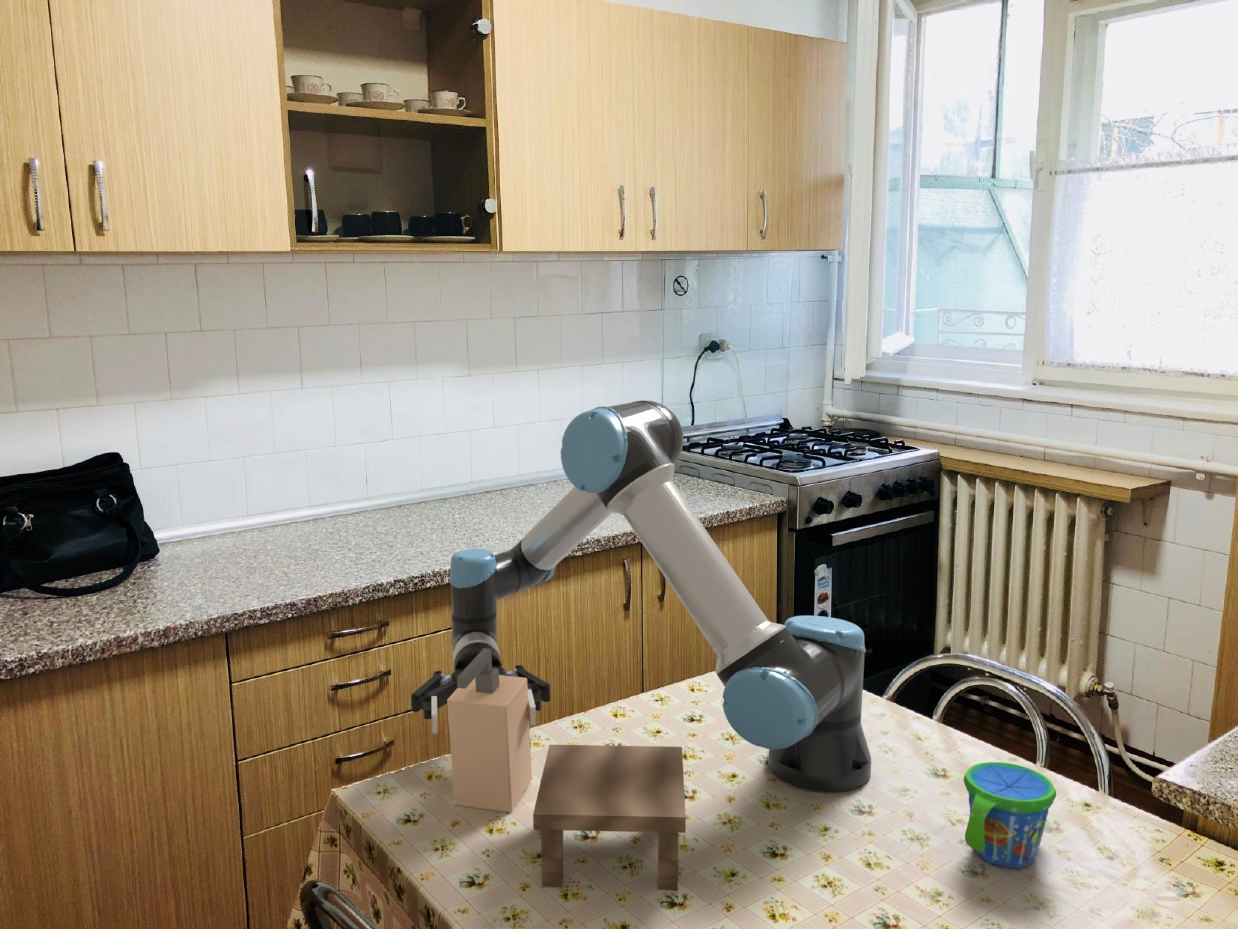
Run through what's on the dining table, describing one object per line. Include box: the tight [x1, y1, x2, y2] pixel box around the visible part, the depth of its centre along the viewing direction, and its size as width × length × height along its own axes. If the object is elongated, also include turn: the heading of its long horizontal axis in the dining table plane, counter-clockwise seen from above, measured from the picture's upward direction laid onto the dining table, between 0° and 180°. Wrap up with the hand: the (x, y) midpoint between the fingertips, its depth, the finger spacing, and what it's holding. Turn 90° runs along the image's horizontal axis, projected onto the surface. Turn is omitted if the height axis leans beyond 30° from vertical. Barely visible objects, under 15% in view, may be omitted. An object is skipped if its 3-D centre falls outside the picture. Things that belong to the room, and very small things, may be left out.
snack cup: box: [963, 761, 1057, 869], centre depth 126 cm, size 16×10×10 cm
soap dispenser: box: [447, 648, 533, 814], centre depth 137 cm, size 13×9×22 cm
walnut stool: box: [532, 744, 687, 891], centre depth 127 cm, size 18×18×10 cm
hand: (484, 720), depth 138 cm, fingers open, 13 cm apart
